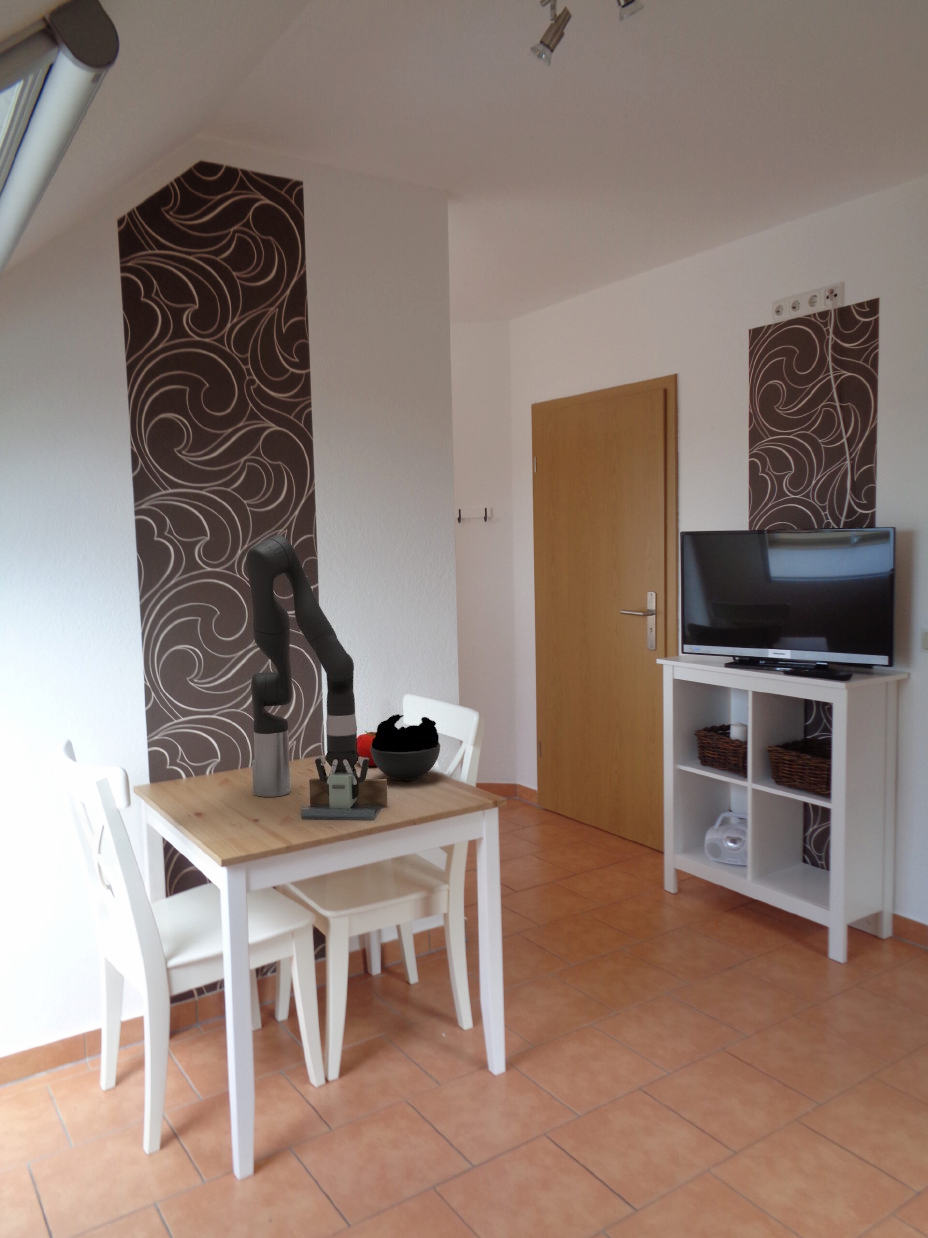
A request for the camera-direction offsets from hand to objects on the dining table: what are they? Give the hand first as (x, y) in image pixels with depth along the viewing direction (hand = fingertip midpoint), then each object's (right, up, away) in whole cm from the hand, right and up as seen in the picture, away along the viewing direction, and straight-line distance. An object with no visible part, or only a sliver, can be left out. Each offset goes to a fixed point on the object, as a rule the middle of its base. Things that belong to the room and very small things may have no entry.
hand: (343, 798), depth 228 cm
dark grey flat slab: (0, -4, -1) cm, 4 cm away
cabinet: (0, -1, 0) cm, 1 cm away
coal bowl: (+14, -1, +32) cm, 34 cm away
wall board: (+1, -3, +5) cm, 6 cm away
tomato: (+2, 0, +51) cm, 51 cm away
